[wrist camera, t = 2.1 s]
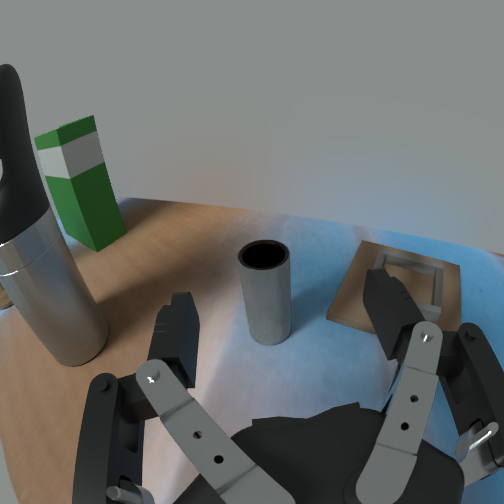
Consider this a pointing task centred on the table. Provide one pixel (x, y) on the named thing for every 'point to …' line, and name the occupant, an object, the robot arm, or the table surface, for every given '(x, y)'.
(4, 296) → the candle holder
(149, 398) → the robot arm
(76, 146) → the hardback book
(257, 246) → the grey cylinder
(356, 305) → the base
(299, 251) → the table surface
